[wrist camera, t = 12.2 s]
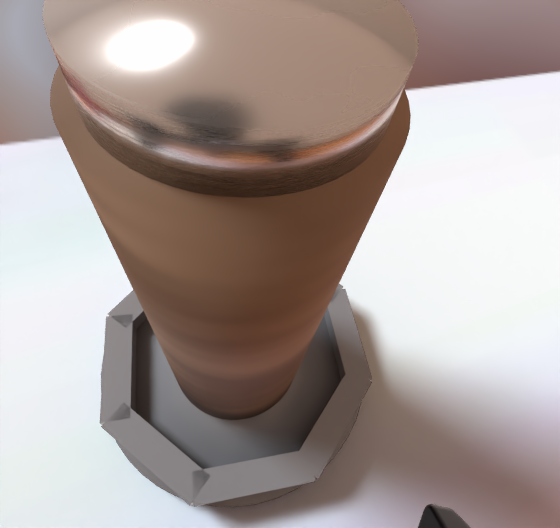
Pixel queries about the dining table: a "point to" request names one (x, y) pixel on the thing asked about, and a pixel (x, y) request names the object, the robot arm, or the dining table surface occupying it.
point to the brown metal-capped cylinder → (233, 166)
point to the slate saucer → (230, 433)
